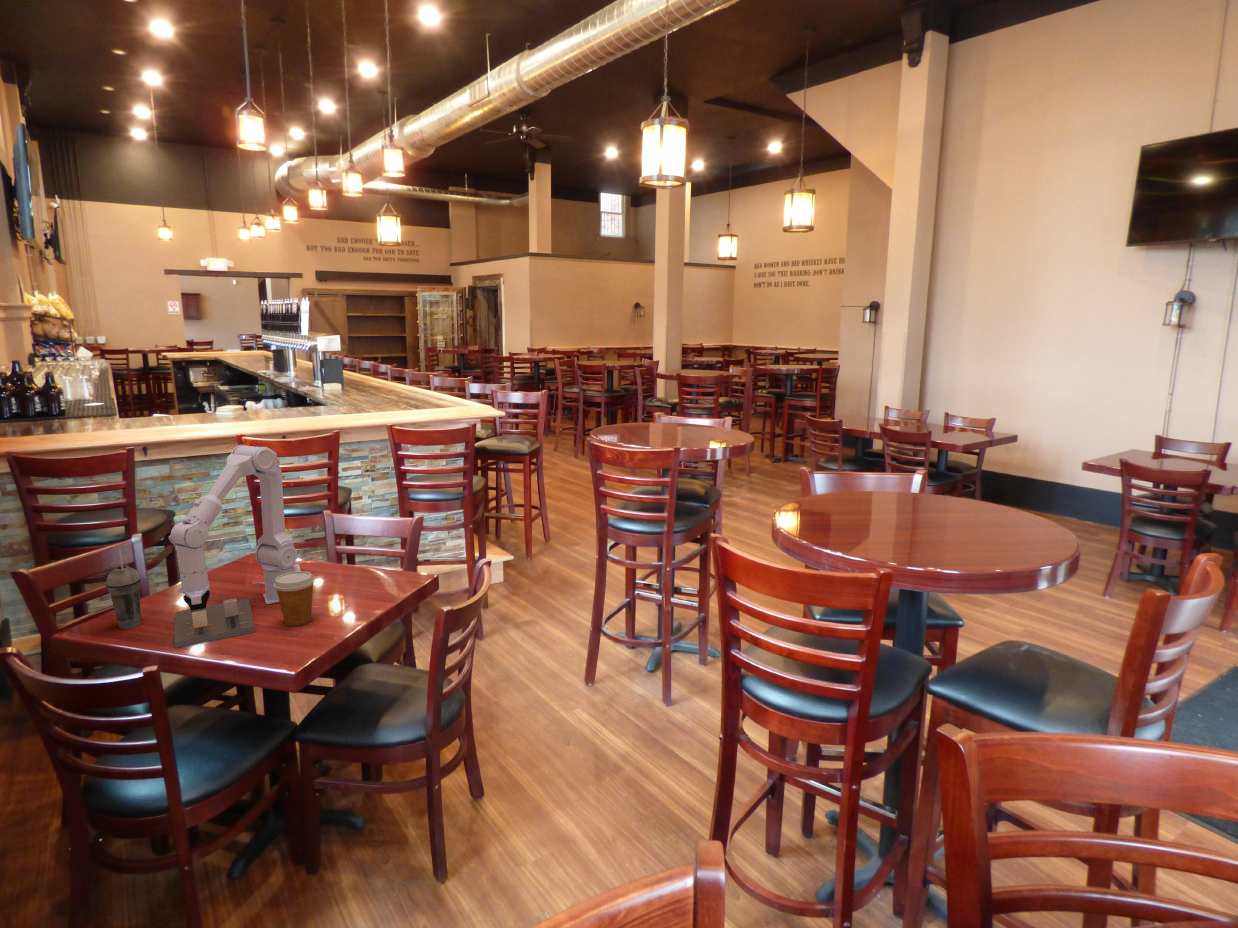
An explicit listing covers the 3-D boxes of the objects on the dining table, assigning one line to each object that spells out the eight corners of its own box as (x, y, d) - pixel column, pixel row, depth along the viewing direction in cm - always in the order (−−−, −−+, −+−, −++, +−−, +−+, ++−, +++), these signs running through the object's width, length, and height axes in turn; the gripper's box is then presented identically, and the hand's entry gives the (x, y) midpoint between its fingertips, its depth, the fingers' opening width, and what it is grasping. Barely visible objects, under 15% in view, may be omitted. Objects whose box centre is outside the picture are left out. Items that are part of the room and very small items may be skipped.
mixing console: (248, 603, 192) (248, 598, 192) (255, 631, 175) (254, 625, 174) (176, 617, 184) (175, 611, 183) (175, 648, 166) (174, 641, 166)
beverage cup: (110, 633, 174) (98, 556, 170) (115, 622, 181) (103, 548, 177) (145, 627, 178) (134, 552, 174) (148, 617, 184) (138, 544, 180)
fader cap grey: (238, 612, 182) (236, 597, 182) (238, 614, 181) (236, 599, 180) (225, 615, 181) (223, 600, 180) (225, 617, 180) (223, 602, 179)
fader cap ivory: (207, 622, 176) (205, 607, 176) (207, 625, 175) (205, 609, 174) (193, 625, 175) (191, 610, 174) (193, 627, 173) (191, 612, 173)
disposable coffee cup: (326, 616, 184) (322, 572, 182) (298, 631, 175) (294, 585, 173) (297, 611, 187) (293, 568, 185) (269, 625, 178) (264, 581, 176)
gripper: (174, 563, 177) (181, 613, 180) (173, 582, 165) (181, 635, 168) (207, 558, 180) (213, 607, 183) (208, 576, 168) (215, 629, 171)
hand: (200, 620), depth 176 cm, fingers closed, pressing on fader cap ivory
